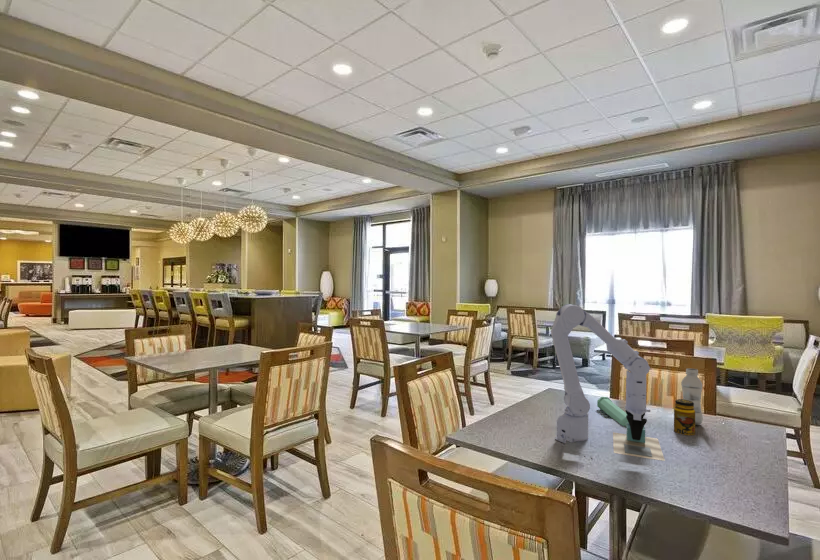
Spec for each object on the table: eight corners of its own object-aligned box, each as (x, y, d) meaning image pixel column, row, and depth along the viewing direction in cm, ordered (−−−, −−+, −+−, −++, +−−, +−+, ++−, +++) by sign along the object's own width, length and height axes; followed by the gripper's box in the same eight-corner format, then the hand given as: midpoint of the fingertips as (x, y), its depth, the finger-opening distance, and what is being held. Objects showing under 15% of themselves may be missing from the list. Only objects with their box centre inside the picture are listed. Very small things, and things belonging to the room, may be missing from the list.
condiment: (685, 441, 140) (685, 404, 140) (663, 432, 148) (663, 397, 148) (702, 439, 142) (702, 402, 142) (679, 430, 150) (679, 396, 150)
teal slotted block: (645, 442, 133) (645, 429, 133) (627, 440, 135) (627, 427, 135) (643, 437, 137) (644, 425, 137) (626, 435, 139) (626, 422, 139)
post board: (664, 466, 120) (665, 450, 120) (613, 457, 126) (613, 442, 126) (657, 443, 138) (657, 429, 138) (612, 436, 143) (612, 423, 143)
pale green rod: (635, 414, 149) (608, 394, 174) (618, 420, 149) (594, 399, 174) (642, 430, 149) (614, 407, 173) (625, 436, 149) (600, 412, 174)
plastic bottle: (707, 427, 154) (707, 371, 154) (687, 427, 154) (688, 371, 154) (695, 421, 160) (695, 367, 160) (677, 421, 160) (677, 367, 160)
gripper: (652, 400, 128) (652, 446, 128) (648, 389, 141) (647, 431, 141) (626, 398, 131) (625, 442, 131) (624, 387, 144) (623, 428, 144)
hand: (635, 436), depth 136 cm, fingers closed on teal slotted block, 5 cm apart
